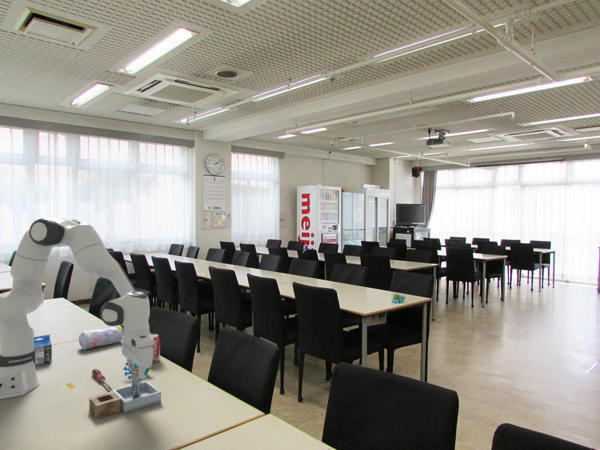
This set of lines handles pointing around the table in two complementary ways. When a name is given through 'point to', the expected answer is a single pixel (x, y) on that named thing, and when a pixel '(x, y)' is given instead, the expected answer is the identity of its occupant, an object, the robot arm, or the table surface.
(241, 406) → the table surface
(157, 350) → the soda can
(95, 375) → the screwdriver
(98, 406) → the block
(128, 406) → the tray
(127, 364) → the gear
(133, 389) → the pin
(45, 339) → the label tape box
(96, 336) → the pencil case
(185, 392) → the table surface
